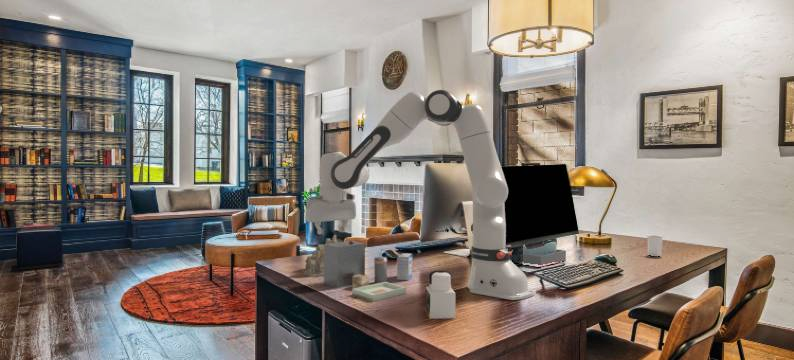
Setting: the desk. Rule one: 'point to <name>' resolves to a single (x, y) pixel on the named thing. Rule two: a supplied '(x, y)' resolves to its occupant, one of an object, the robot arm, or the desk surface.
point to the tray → (378, 291)
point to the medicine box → (404, 266)
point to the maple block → (360, 281)
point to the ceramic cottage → (317, 260)
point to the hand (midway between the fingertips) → (331, 233)
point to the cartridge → (380, 270)
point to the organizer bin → (545, 258)
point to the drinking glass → (654, 245)
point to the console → (343, 263)
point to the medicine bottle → (440, 296)
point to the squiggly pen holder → (541, 249)
